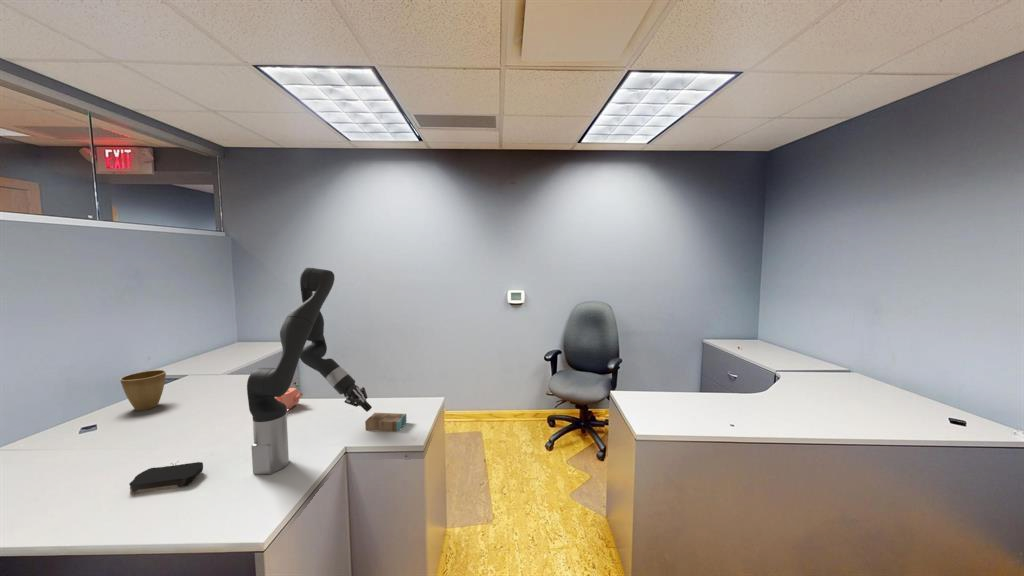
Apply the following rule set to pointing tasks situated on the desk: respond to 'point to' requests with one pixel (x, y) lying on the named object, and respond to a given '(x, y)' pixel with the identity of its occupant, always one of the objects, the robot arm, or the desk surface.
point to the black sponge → (166, 477)
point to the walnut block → (385, 421)
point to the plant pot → (144, 388)
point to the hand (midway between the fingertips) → (369, 409)
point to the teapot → (290, 398)
